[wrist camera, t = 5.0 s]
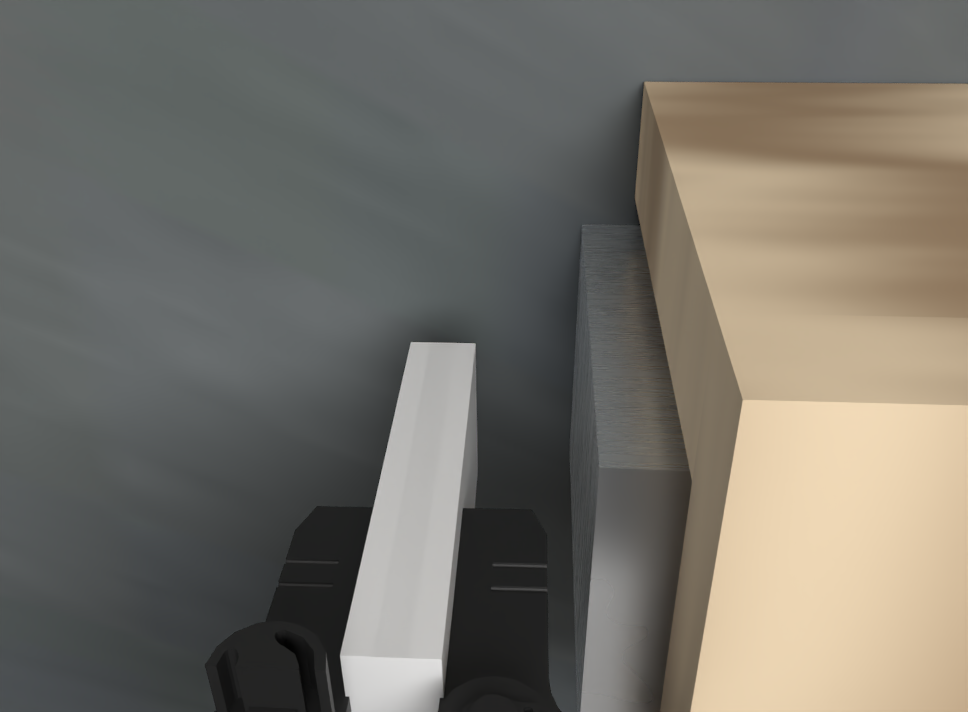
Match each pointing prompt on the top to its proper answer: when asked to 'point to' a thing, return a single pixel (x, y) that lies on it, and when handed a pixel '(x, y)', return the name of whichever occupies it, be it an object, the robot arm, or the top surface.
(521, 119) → the top surface
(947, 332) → the block
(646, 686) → the steel bar
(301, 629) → the robot arm
